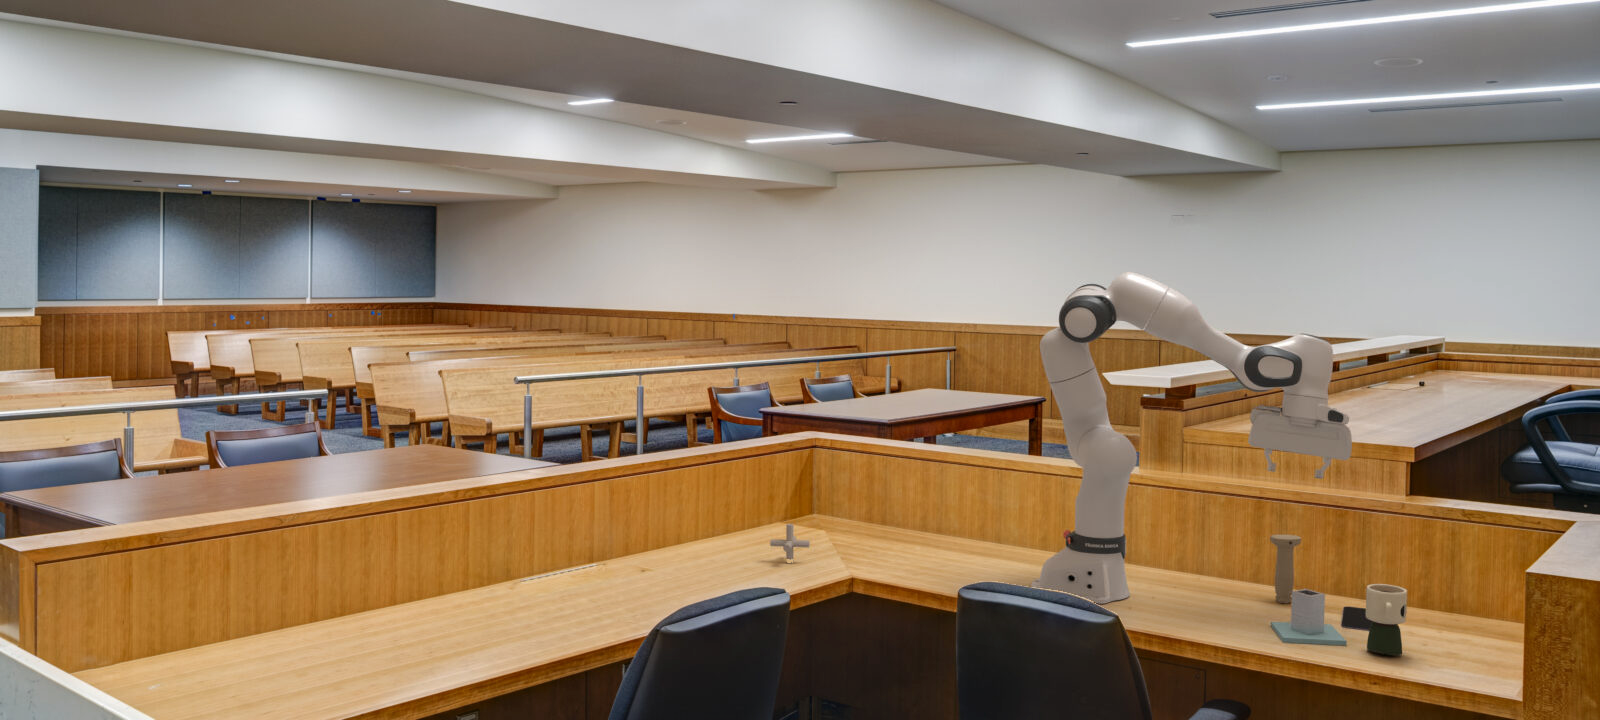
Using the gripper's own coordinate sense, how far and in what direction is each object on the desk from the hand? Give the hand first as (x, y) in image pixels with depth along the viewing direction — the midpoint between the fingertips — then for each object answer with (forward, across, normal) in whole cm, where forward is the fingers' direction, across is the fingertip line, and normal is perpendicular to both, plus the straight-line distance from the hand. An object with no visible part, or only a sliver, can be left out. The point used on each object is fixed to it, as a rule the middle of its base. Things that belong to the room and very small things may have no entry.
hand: (1294, 474), depth 245 cm
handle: (+30, +4, +18) cm, 35 cm away
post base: (+32, +6, -7) cm, 33 cm away
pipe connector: (+43, -114, +18) cm, 123 cm away
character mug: (+32, +19, -14) cm, 40 cm away
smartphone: (+30, +18, +8) cm, 36 cm away
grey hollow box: (+31, +6, -7) cm, 33 cm away
